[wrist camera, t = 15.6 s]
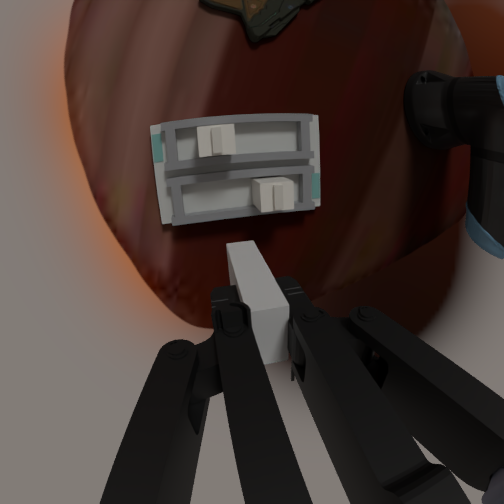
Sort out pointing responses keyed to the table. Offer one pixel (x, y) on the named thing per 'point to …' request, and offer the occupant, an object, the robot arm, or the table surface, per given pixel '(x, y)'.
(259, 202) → the tab
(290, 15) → the firearm
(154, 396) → the robot arm
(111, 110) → the table surface
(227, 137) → the tab
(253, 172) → the switch plate
